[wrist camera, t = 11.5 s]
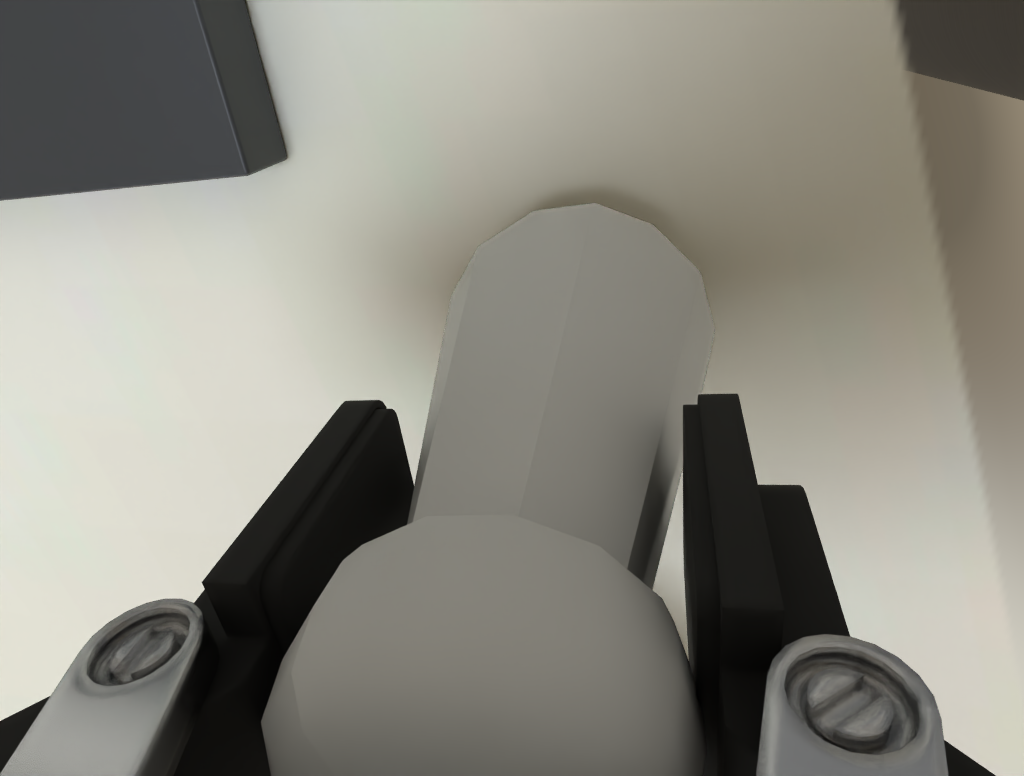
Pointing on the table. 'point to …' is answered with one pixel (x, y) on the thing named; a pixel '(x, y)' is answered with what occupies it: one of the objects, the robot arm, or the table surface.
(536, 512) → the salt shaker
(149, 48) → the scale
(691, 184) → the table surface
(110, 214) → the table surface
